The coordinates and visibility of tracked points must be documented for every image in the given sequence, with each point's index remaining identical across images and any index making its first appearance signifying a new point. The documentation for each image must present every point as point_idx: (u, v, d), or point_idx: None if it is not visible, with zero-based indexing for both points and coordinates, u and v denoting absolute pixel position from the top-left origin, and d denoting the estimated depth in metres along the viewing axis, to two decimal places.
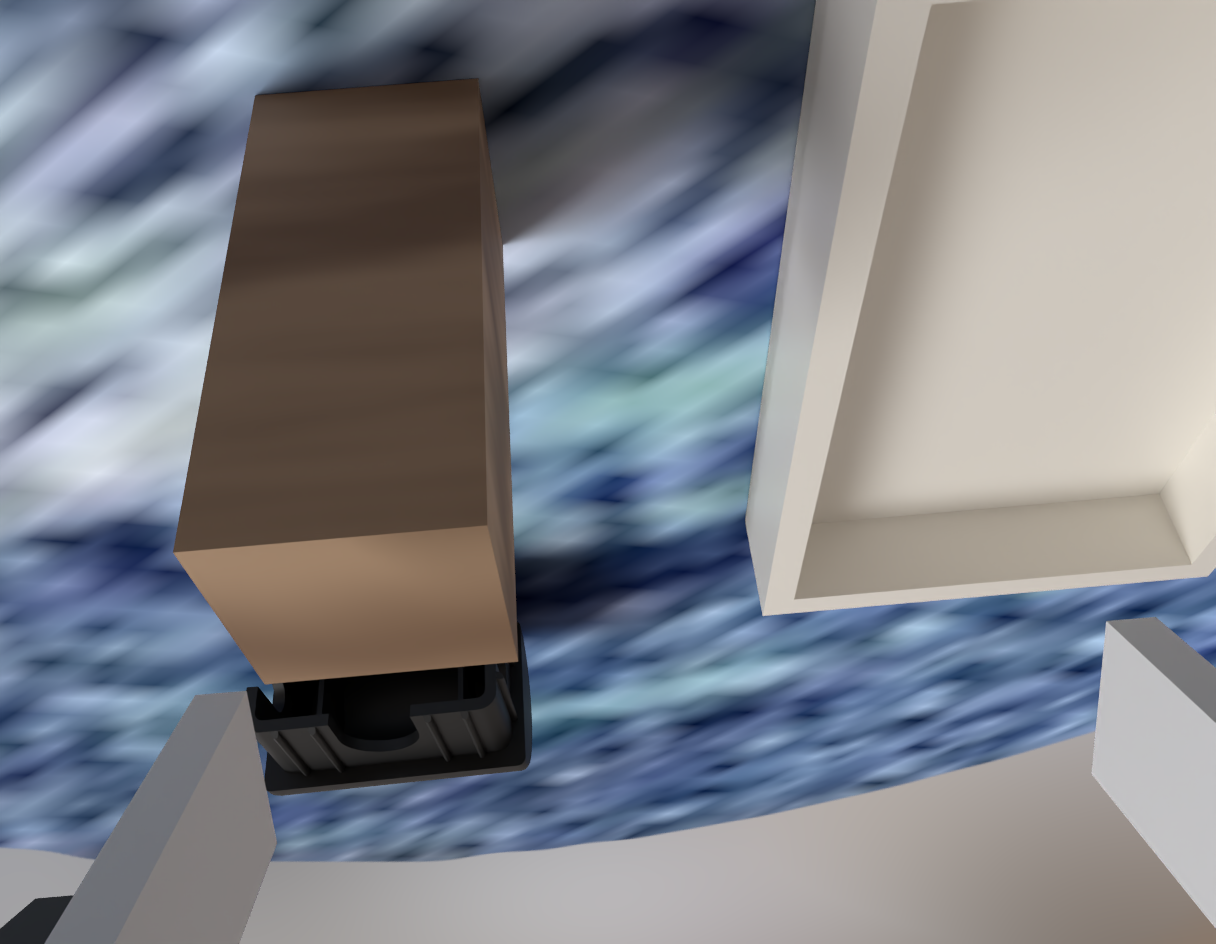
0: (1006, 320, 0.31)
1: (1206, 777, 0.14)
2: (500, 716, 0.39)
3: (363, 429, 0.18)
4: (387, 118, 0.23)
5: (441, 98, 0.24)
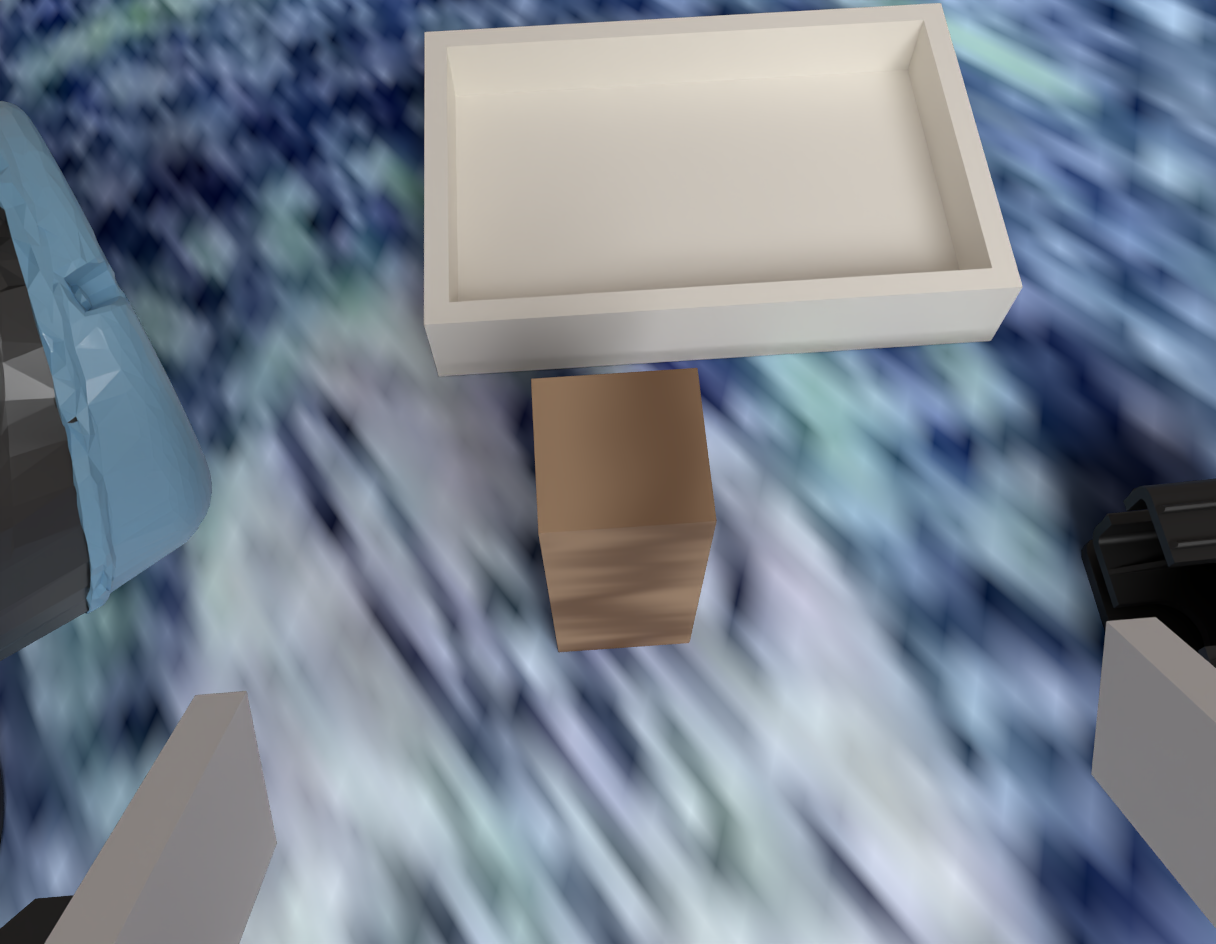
0: (721, 221, 0.48)
1: (1206, 777, 0.14)
2: (1184, 482, 0.37)
3: None
4: None
5: None
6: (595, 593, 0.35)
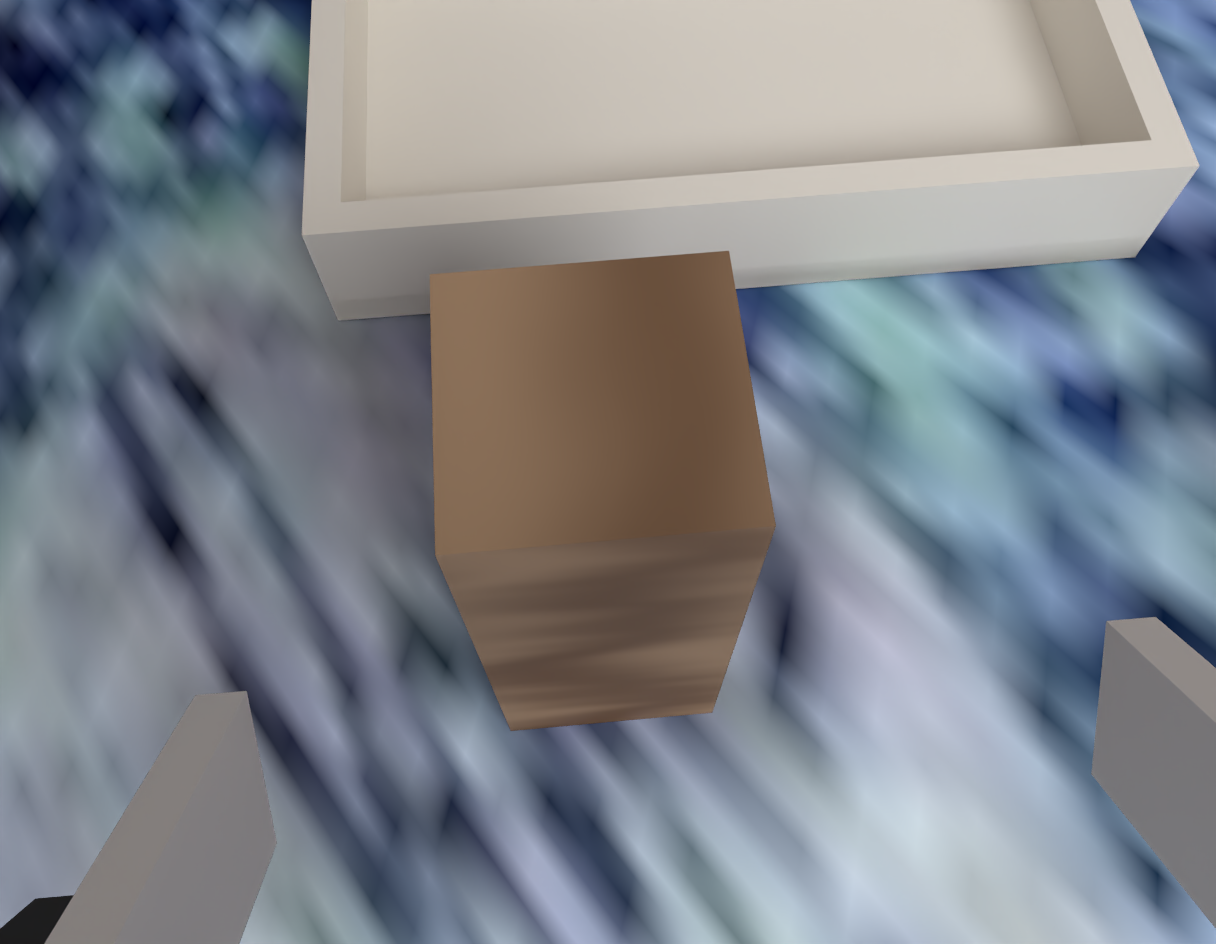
0: (742, 97, 0.34)
1: (1207, 777, 0.14)
2: None
3: None
4: None
5: None
6: (557, 651, 0.21)
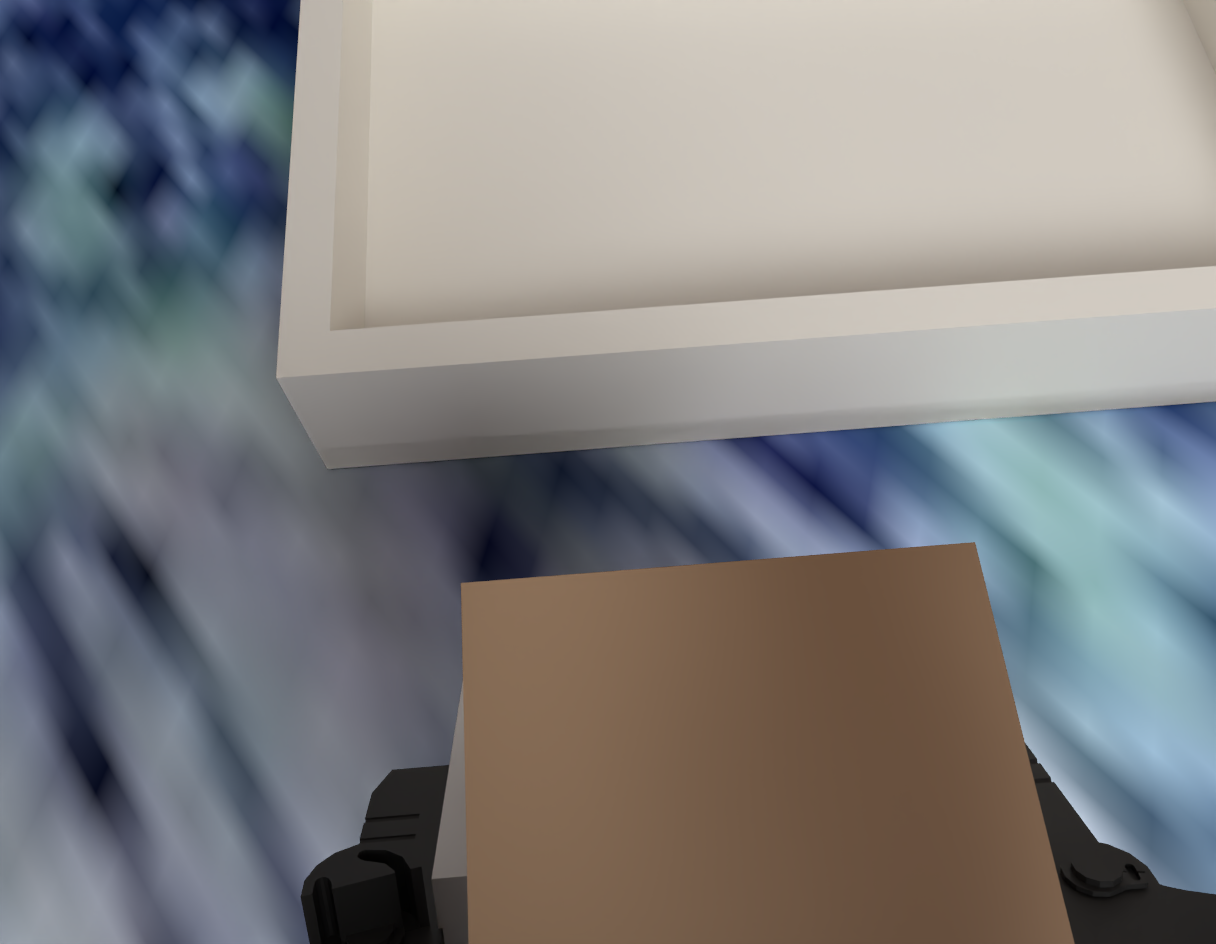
0: (848, 175, 0.27)
1: None
2: None
3: None
4: None
5: None
6: None
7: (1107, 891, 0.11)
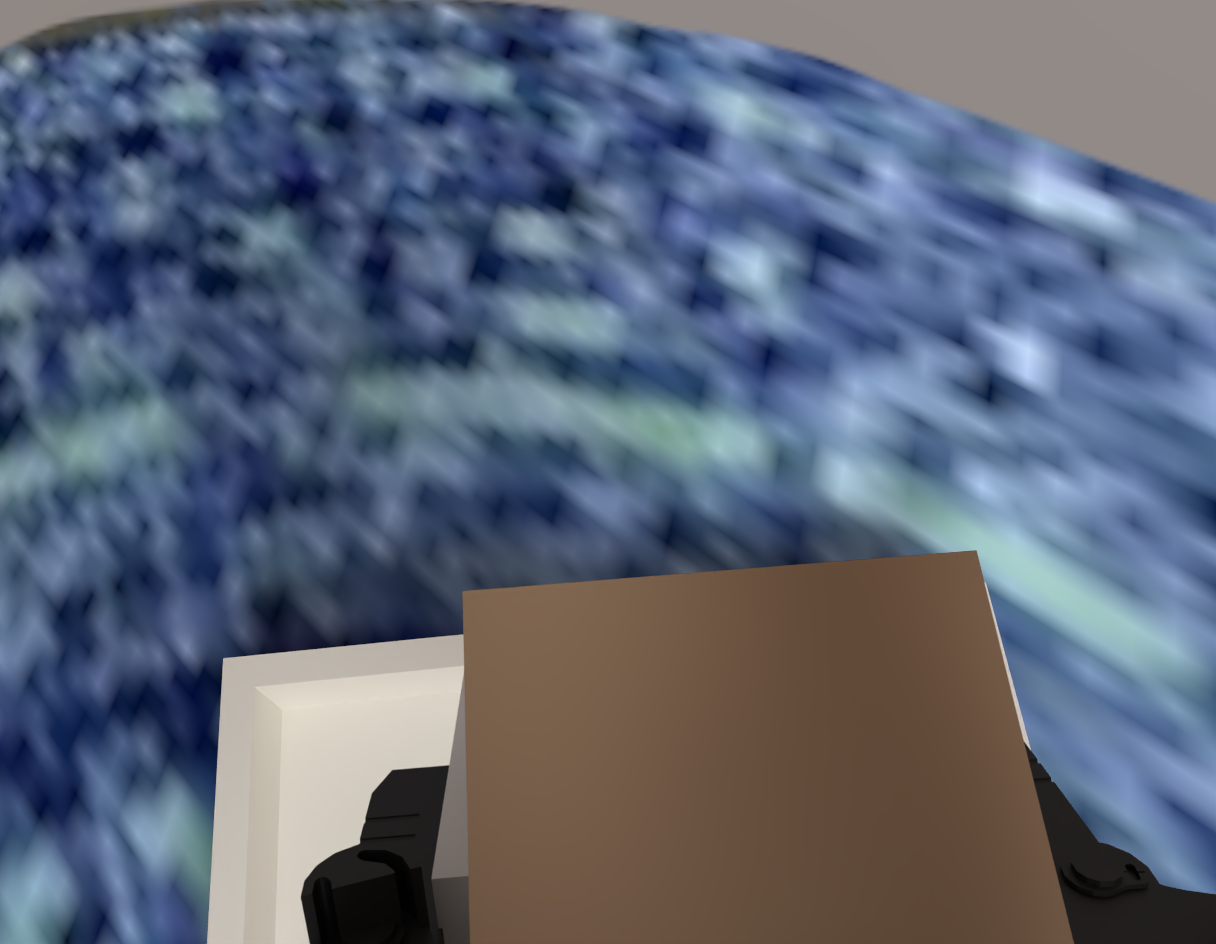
0: None
1: None
2: None
3: None
4: None
5: None
6: None
7: (1107, 891, 0.11)
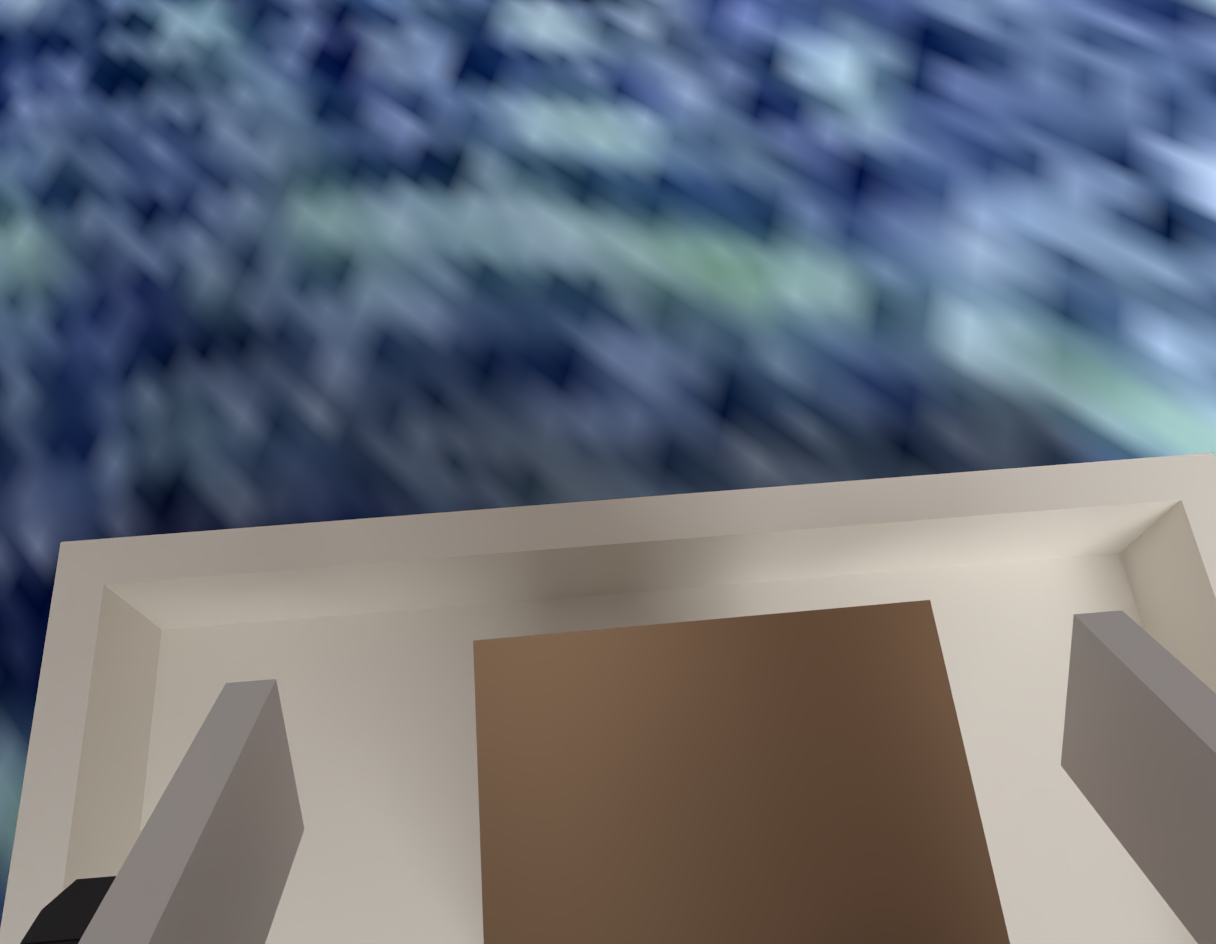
0: None
1: (1167, 766, 0.14)
2: None
3: None
4: None
5: None
6: None
7: None
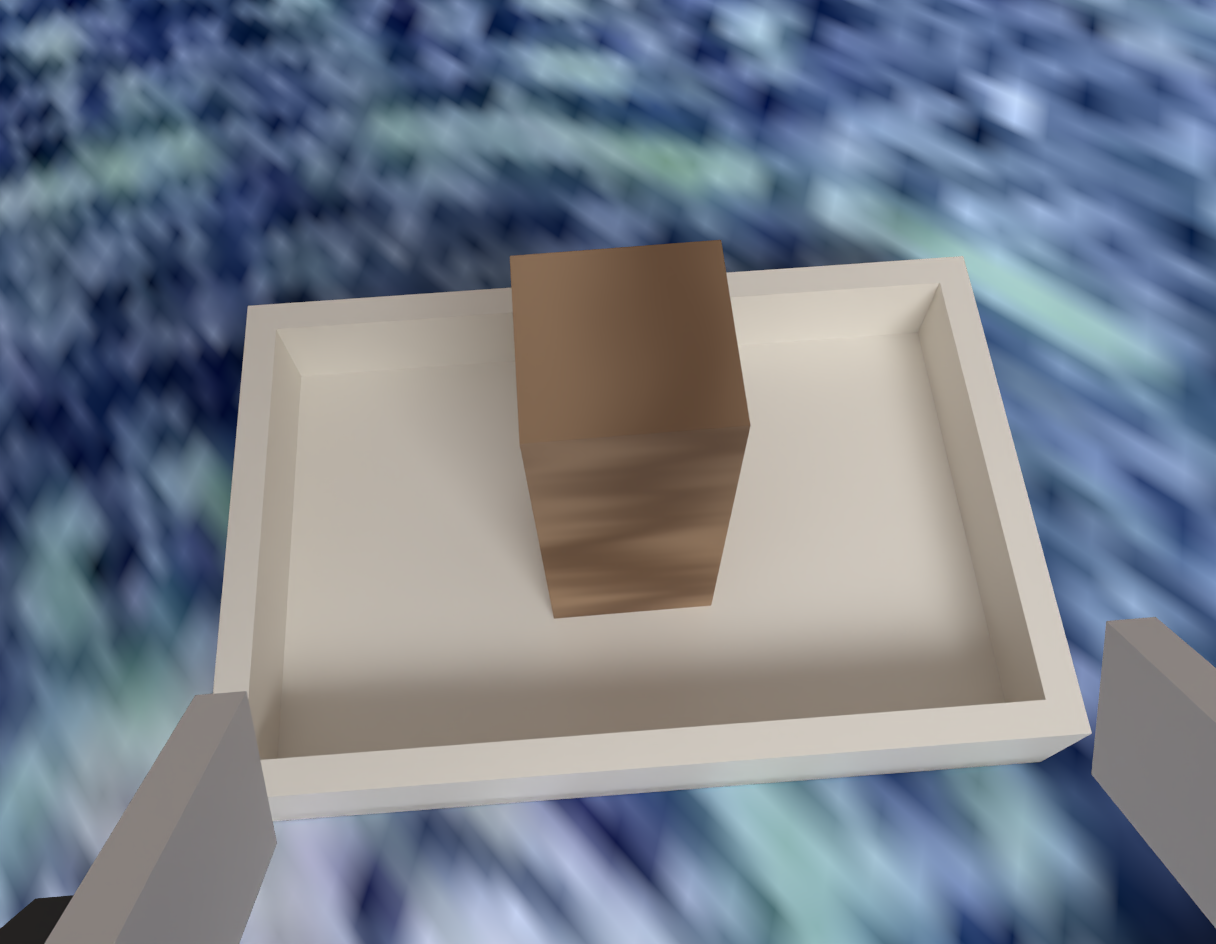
0: None
1: (1207, 778, 0.14)
2: None
3: None
4: None
5: None
6: (596, 535, 0.28)
7: None
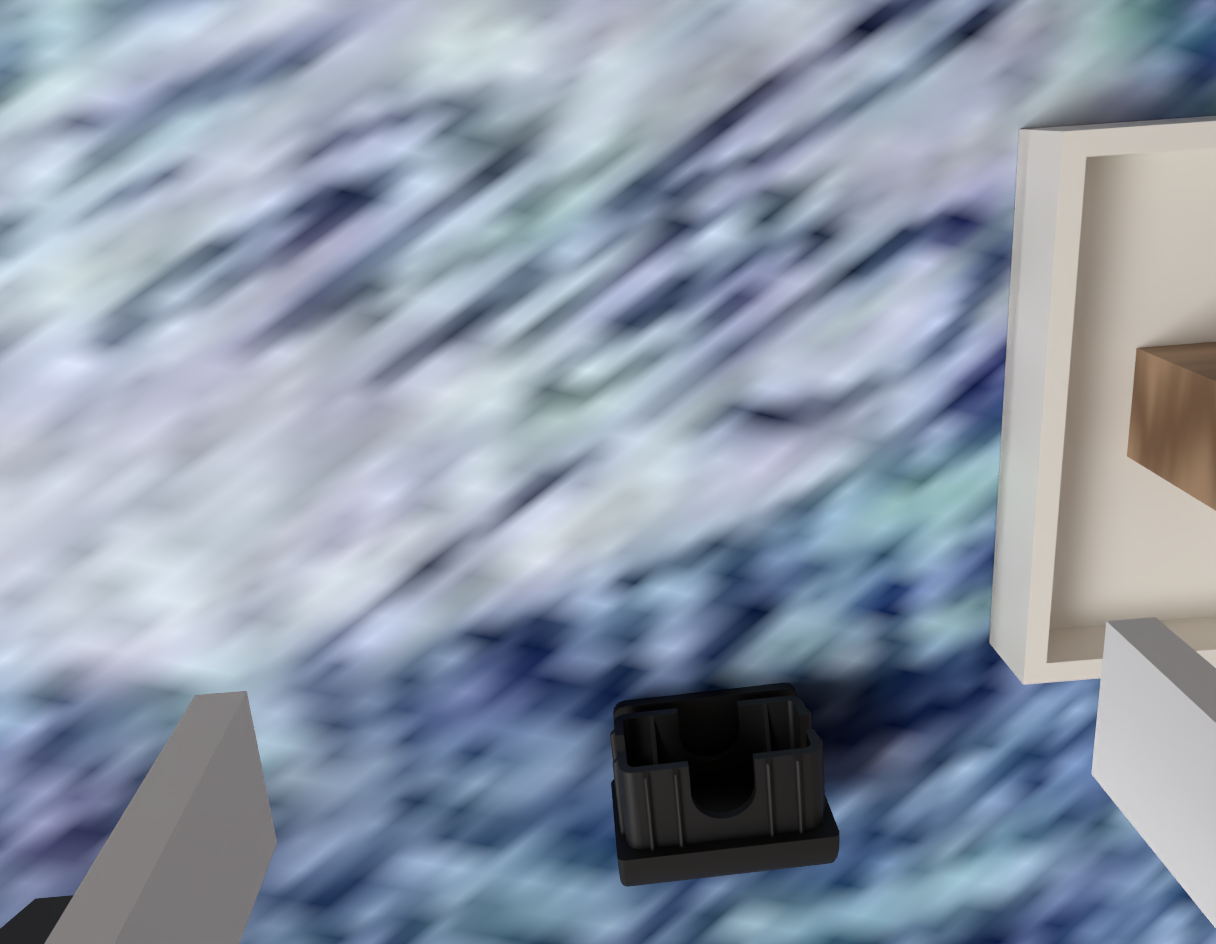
0: None
1: (1206, 777, 0.14)
2: (821, 776, 0.48)
3: None
4: None
5: None
6: None
7: None
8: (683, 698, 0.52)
